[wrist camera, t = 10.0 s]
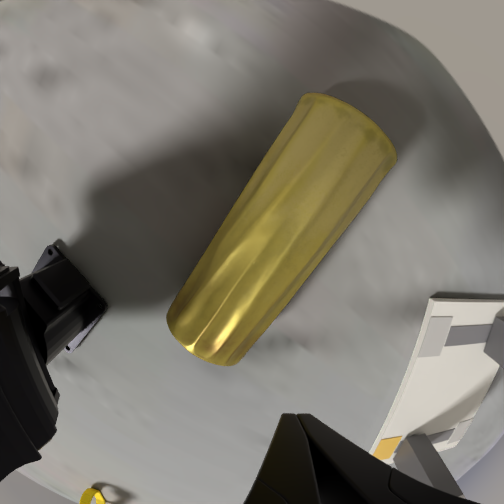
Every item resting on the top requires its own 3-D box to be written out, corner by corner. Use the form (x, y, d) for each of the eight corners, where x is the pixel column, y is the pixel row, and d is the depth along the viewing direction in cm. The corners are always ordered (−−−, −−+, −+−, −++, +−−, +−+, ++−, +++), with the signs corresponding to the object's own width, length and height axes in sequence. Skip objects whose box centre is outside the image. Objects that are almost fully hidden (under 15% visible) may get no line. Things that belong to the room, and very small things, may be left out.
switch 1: (392, 459, 22) (425, 528, 13) (405, 437, 22) (445, 509, 12) (411, 455, 22) (446, 520, 13) (425, 433, 22) (466, 500, 12)
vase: (322, 77, 11) (147, 337, 14) (420, 164, 12) (252, 388, 15) (292, 103, 17) (168, 288, 19) (367, 161, 18) (245, 331, 21)
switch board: (363, 462, 24) (365, 468, 23) (429, 297, 20) (435, 301, 19) (452, 442, 24) (455, 446, 23) (517, 299, 20) (523, 302, 19)
